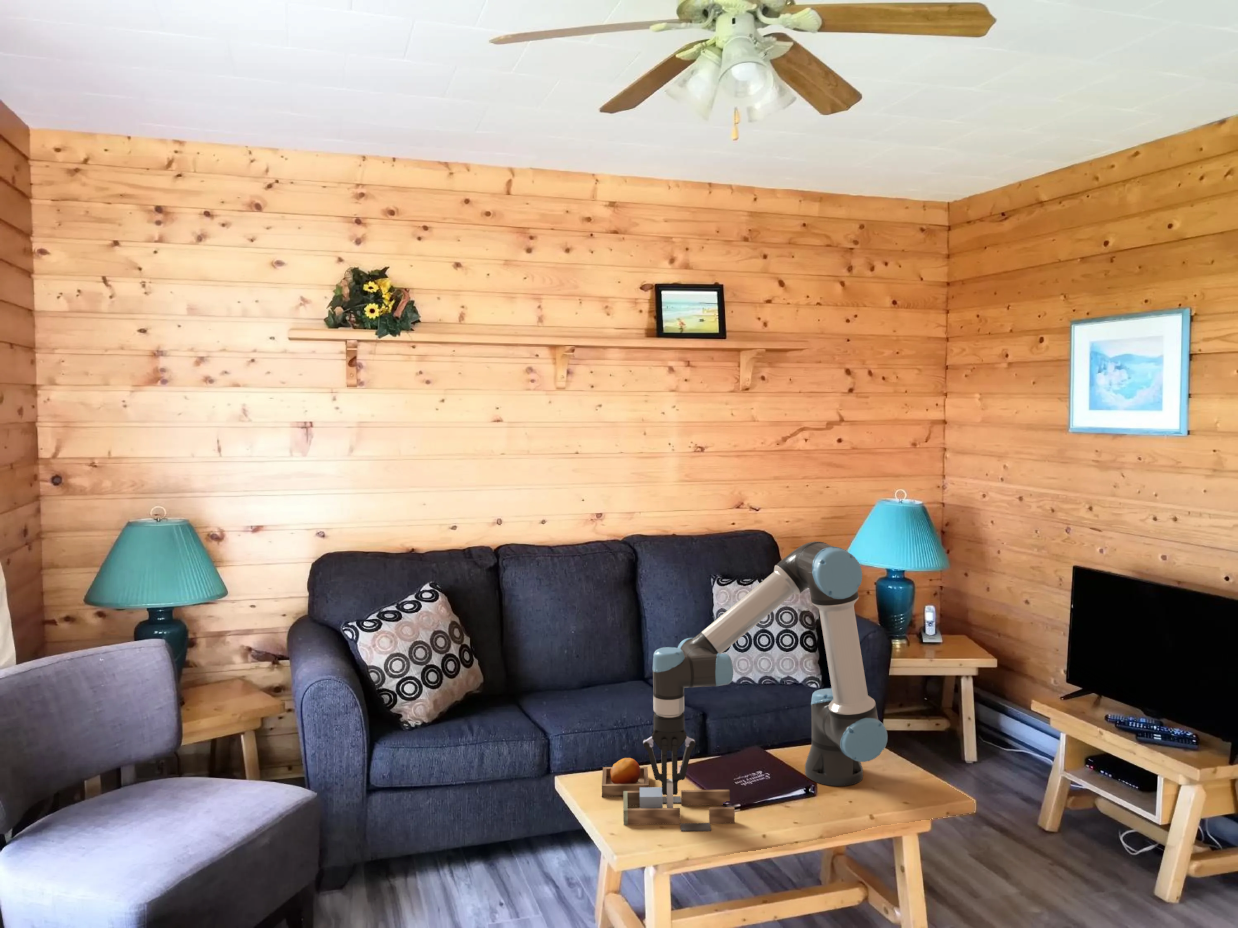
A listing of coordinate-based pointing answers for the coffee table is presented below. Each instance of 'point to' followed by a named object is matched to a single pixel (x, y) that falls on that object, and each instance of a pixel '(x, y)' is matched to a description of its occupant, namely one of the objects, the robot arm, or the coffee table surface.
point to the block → (651, 797)
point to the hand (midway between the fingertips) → (669, 806)
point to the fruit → (625, 772)
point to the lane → (673, 814)
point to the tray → (617, 789)
